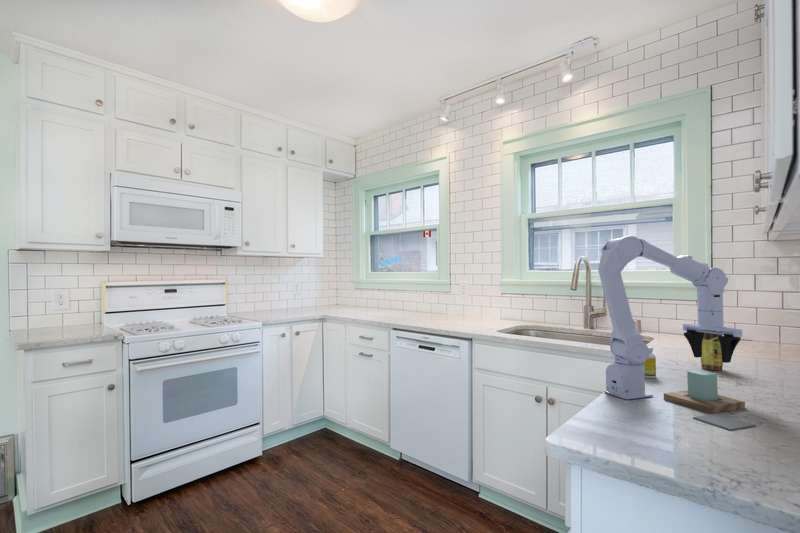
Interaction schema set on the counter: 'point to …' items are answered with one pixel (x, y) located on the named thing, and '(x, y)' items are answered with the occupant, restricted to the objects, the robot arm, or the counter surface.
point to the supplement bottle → (650, 365)
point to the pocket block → (709, 407)
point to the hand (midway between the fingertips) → (711, 359)
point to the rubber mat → (724, 421)
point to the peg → (702, 385)
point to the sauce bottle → (711, 352)
